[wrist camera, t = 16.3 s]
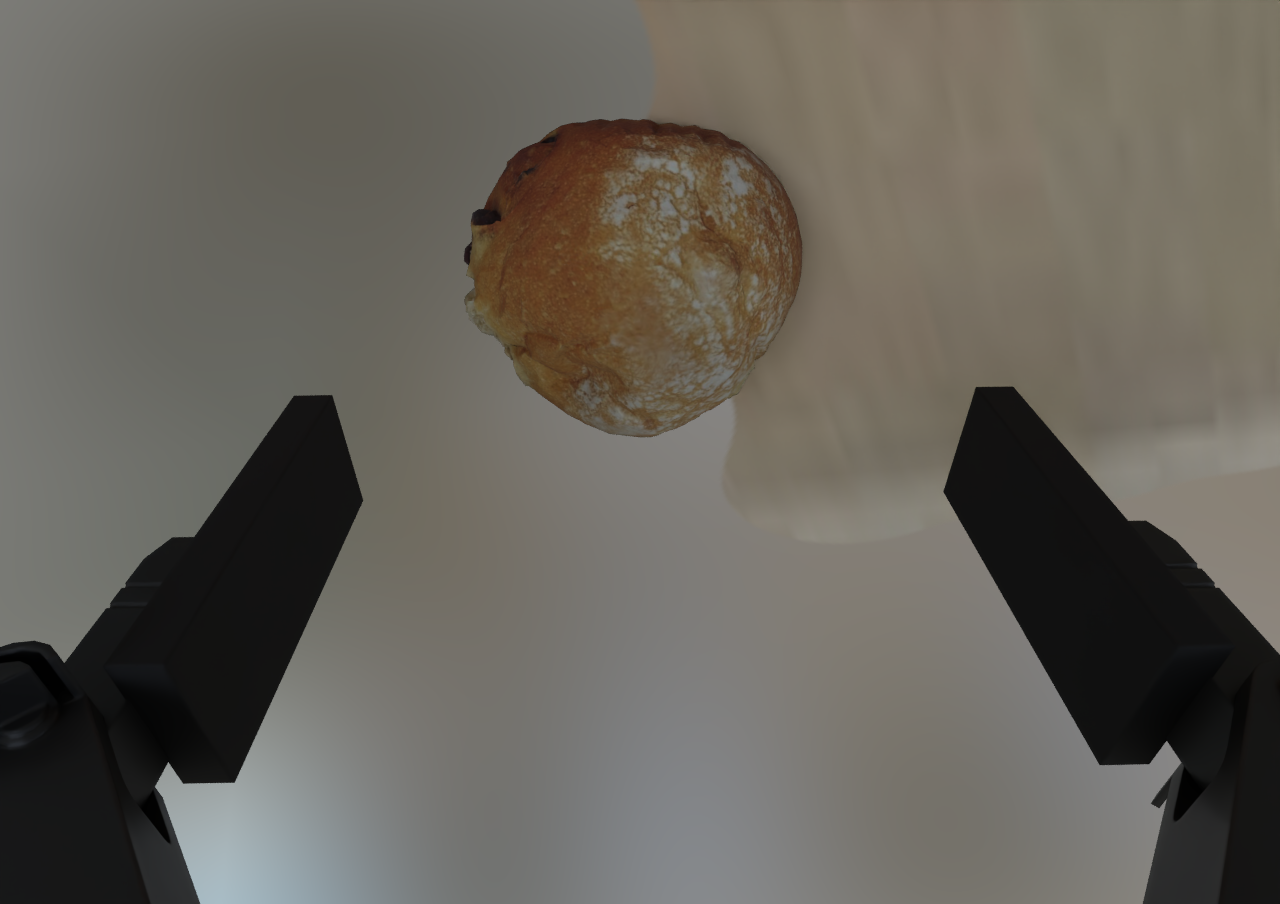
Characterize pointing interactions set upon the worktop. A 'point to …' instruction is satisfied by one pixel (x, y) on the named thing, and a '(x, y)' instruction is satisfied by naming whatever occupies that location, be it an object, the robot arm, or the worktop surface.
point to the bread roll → (634, 270)
